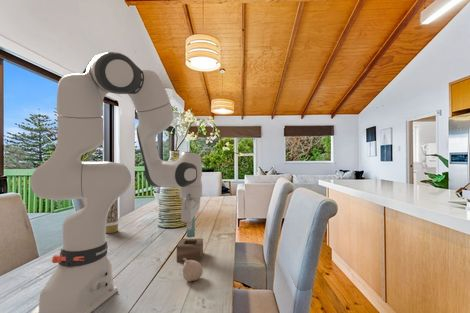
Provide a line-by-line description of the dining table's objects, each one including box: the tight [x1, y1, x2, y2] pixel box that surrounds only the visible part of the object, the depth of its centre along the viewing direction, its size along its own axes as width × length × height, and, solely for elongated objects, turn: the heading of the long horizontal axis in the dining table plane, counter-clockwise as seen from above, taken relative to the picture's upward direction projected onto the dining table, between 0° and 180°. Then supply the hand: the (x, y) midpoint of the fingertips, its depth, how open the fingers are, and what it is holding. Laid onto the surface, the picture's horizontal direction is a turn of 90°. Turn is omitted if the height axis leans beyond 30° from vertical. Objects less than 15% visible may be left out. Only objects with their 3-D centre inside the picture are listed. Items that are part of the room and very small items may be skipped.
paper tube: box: [106, 198, 119, 234], centre depth 139 cm, size 7×7×25 cm
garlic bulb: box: [182, 258, 204, 282], centre depth 84 cm, size 7×6×8 cm
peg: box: [186, 215, 196, 238], centre depth 103 cm, size 3×3×10 cm
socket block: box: [176, 238, 204, 263], centre depth 103 cm, size 9×9×6 cm
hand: (191, 227), depth 103 cm, fingers closed on peg, 3 cm apart
